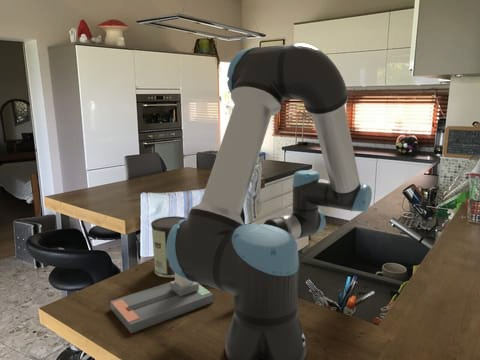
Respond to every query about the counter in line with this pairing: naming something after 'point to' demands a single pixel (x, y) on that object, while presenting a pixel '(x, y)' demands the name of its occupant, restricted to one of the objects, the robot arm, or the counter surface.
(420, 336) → the counter surface
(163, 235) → the coffee can
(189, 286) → the handle
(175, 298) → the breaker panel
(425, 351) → the counter surface
